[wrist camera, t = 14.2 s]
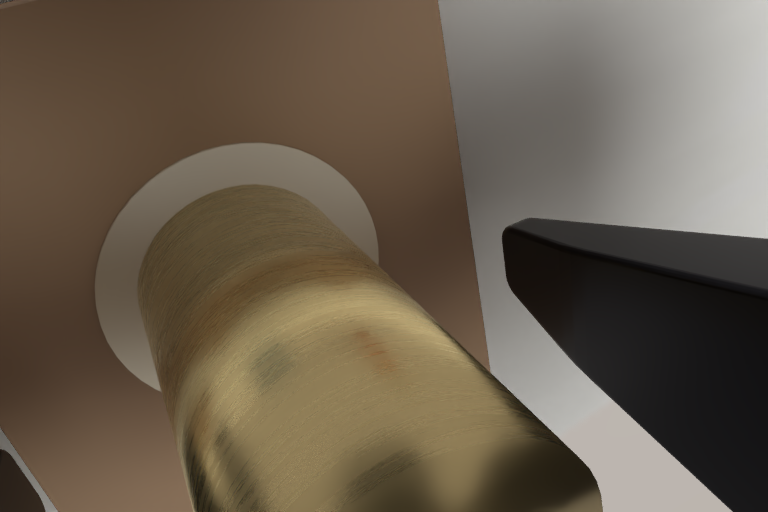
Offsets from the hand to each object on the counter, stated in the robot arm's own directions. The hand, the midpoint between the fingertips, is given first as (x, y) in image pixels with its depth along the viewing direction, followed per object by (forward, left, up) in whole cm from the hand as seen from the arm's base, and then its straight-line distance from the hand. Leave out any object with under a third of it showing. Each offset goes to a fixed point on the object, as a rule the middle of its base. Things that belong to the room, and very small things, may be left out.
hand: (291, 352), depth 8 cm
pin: (0, 0, -2) cm, 2 cm away
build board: (0, 0, -3) cm, 3 cm away
